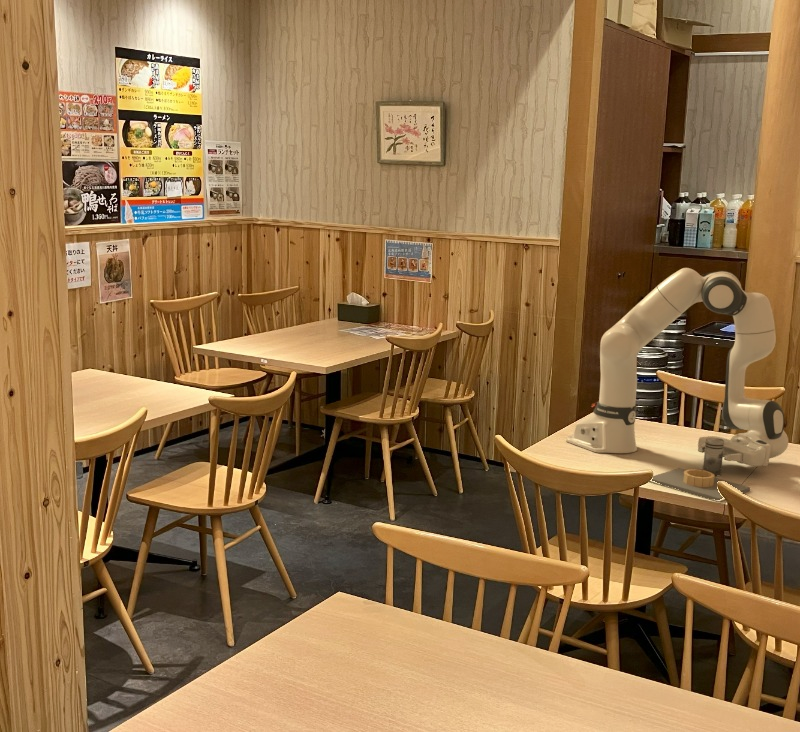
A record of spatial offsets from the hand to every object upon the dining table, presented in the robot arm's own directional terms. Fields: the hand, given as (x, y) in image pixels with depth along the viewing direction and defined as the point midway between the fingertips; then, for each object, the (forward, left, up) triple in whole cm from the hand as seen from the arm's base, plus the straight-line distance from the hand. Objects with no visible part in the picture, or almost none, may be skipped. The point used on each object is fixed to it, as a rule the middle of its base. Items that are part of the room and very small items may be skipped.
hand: (713, 453), depth 277 cm
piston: (0, 0, -6) cm, 6 cm away
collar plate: (+4, -14, -6) cm, 16 cm away
